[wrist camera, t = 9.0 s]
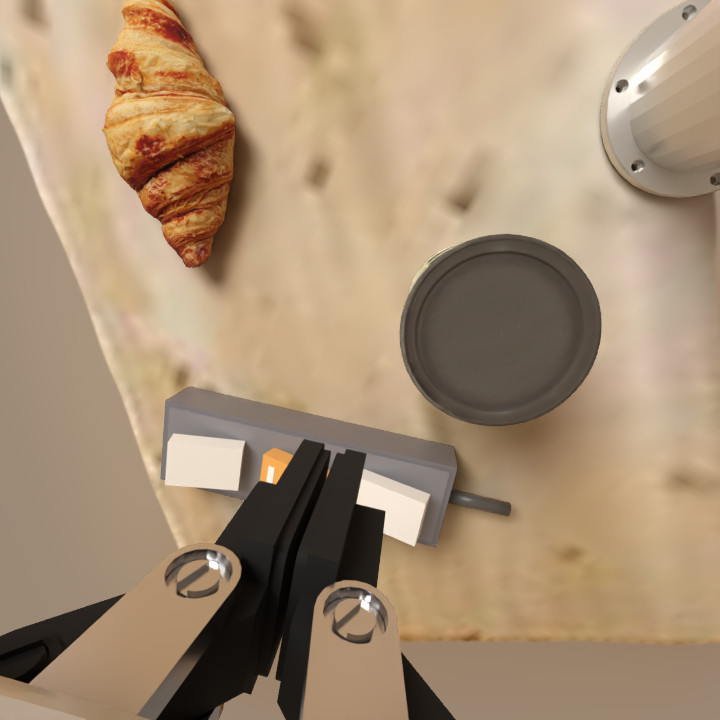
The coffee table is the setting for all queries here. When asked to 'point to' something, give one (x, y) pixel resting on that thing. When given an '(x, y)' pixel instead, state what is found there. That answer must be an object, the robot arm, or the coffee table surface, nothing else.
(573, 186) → the coffee table surface
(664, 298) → the coffee table surface
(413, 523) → the white rocker
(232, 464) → the block
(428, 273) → the coffee can
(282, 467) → the amber rocker
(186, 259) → the croissant
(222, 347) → the coffee table surface
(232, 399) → the power strip
